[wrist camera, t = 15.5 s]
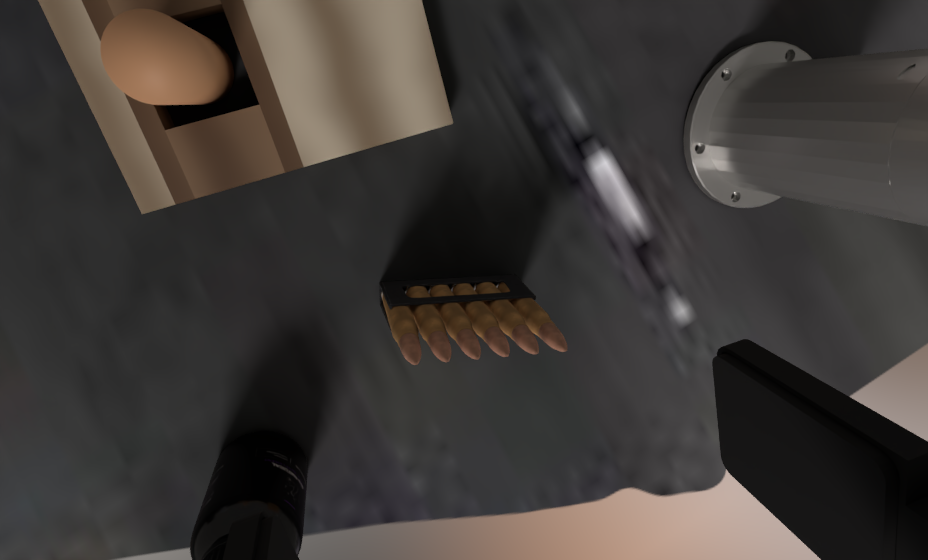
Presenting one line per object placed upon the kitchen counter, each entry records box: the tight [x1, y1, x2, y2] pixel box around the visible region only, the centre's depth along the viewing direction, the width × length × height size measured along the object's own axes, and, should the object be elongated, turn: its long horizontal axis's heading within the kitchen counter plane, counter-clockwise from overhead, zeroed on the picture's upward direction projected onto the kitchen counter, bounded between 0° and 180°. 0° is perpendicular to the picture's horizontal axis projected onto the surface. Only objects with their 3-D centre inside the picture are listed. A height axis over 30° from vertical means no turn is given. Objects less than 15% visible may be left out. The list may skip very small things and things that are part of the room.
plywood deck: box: [38, 0, 453, 214], centre depth 33 cm, size 20×14×2 cm
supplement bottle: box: [190, 431, 308, 560], centre depth 37 cm, size 7×7×12 cm
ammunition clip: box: [379, 275, 567, 365], centre depth 36 cm, size 11×2×12 cm, turn 89°
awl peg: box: [100, 9, 234, 105], centre depth 29 cm, size 4×4×10 cm
